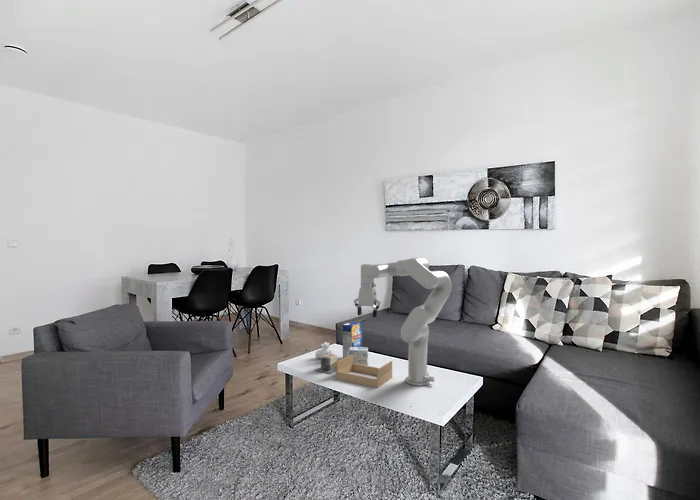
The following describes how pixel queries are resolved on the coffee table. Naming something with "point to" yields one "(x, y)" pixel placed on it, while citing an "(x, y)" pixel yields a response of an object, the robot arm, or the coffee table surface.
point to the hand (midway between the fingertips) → (367, 315)
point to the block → (328, 362)
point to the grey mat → (326, 371)
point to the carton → (347, 366)
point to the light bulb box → (359, 355)
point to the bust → (323, 350)
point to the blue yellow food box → (351, 336)
